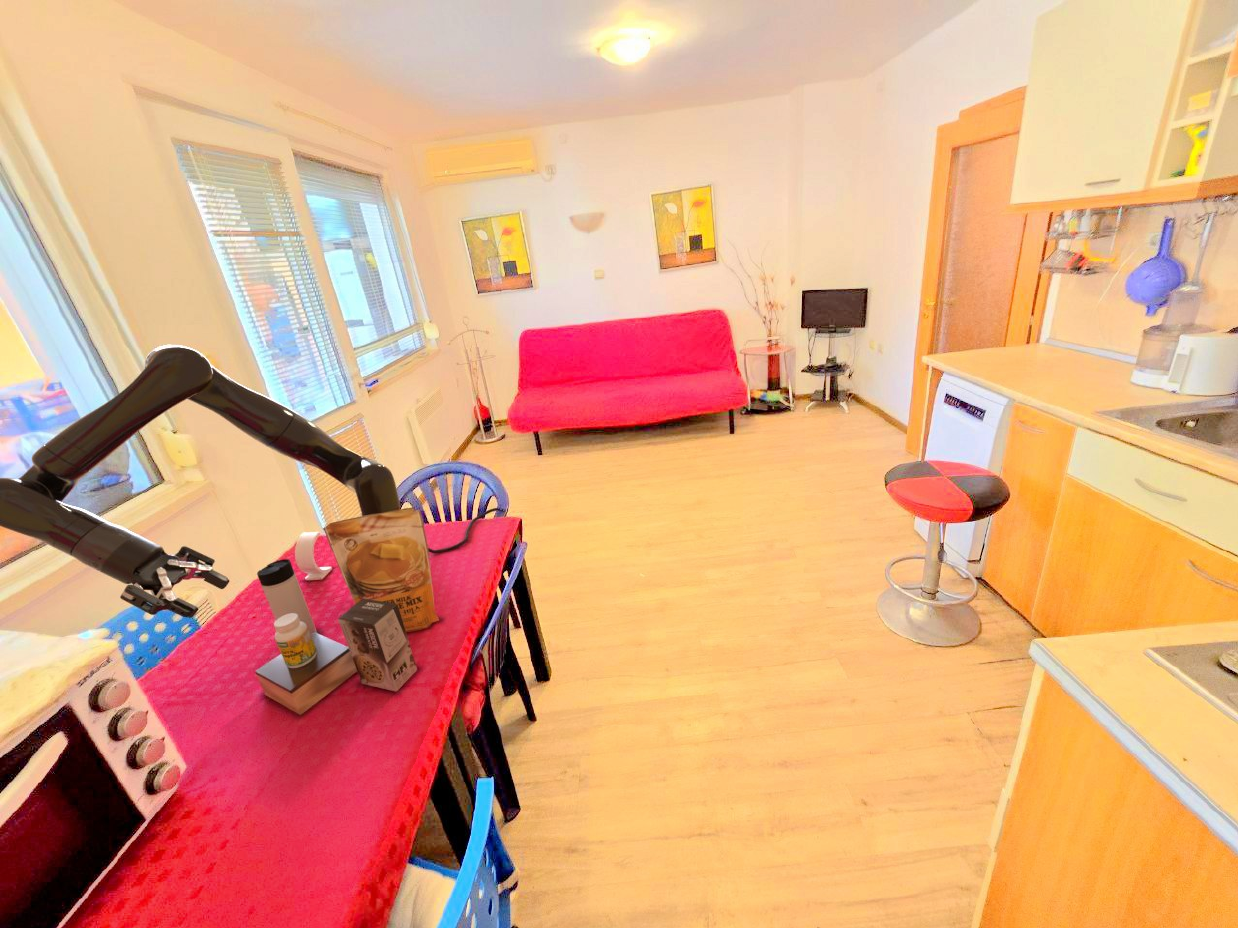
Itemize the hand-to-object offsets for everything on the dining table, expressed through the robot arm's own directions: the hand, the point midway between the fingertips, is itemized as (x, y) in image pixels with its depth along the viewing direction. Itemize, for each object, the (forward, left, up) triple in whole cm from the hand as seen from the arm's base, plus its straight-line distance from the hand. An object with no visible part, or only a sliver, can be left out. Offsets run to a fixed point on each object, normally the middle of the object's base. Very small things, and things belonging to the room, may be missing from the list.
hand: (211, 598), depth 93 cm
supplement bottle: (-6, +10, -16) cm, 20 cm away
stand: (-6, +10, -22) cm, 25 cm away
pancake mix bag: (-26, +13, -22) cm, 36 cm away
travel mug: (-13, -5, -22) cm, 26 cm away
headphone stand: (-31, -28, -22) cm, 47 cm away
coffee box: (-14, +24, -22) cm, 35 cm away
